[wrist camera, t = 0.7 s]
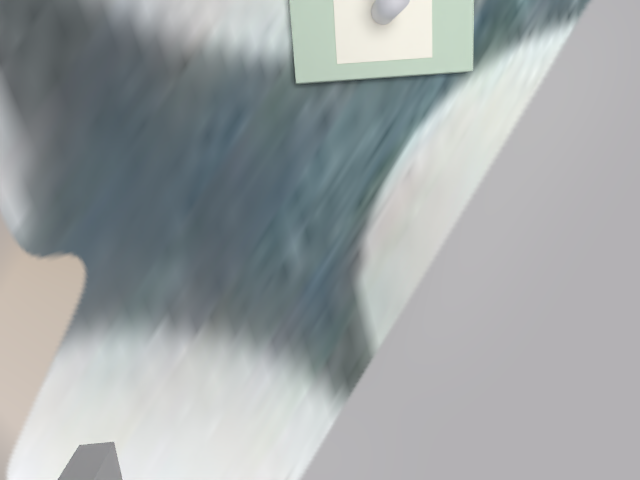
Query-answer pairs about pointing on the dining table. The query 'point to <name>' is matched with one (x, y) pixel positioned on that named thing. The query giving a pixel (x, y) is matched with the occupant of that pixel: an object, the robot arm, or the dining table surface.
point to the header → (380, 38)
